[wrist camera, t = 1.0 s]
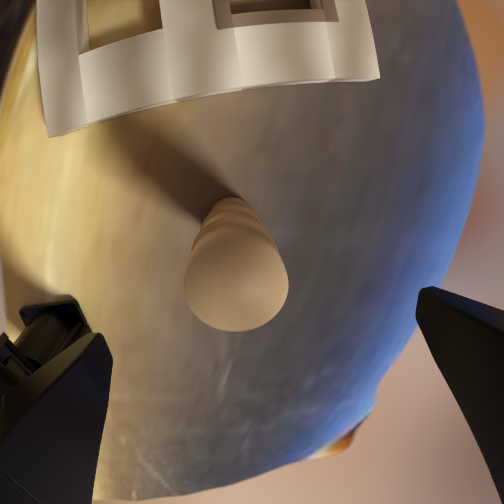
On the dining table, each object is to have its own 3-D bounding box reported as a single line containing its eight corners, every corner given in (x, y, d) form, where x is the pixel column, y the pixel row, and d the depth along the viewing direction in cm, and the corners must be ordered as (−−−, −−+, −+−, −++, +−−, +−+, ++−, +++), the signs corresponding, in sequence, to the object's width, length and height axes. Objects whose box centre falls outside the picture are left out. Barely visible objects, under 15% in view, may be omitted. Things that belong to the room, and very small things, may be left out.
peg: (206, 253, 21) (197, 337, 13) (194, 195, 20) (172, 250, 11) (266, 243, 21) (292, 322, 13) (257, 184, 20) (282, 231, 11)
